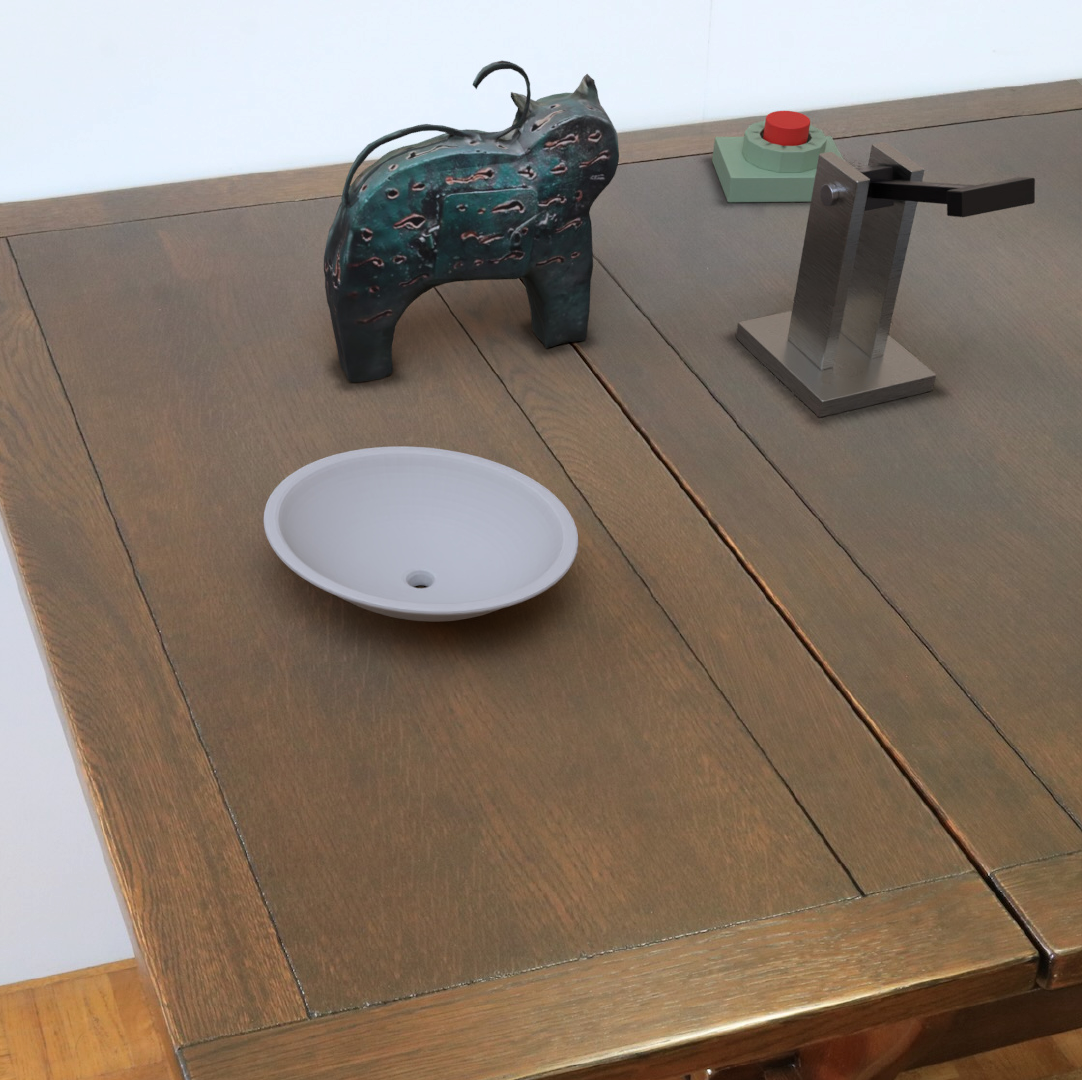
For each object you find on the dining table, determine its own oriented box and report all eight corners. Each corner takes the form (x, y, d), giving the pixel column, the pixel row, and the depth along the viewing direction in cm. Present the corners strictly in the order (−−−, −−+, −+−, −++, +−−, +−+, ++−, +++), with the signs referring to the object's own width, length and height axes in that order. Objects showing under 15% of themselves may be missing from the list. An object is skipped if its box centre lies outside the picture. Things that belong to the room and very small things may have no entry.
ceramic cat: (583, 307, 111) (602, 32, 98) (620, 351, 106) (645, 68, 93) (321, 354, 106) (304, 69, 93) (348, 402, 101) (334, 109, 88)
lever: (1035, 211, 87) (1035, 168, 86) (962, 226, 85) (962, 182, 85) (886, 199, 99) (885, 161, 99) (821, 212, 98) (819, 173, 97)
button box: (827, 160, 131) (835, 115, 128) (848, 201, 125) (857, 155, 122) (711, 161, 130) (717, 115, 128) (727, 202, 124) (733, 156, 122)
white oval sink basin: (223, 633, 84) (214, 563, 80) (331, 489, 94) (327, 421, 90) (526, 714, 79) (530, 643, 76) (605, 554, 89) (611, 485, 86)
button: (802, 130, 127) (805, 110, 125) (811, 148, 124) (814, 128, 123) (759, 130, 126) (762, 110, 125) (767, 149, 124) (770, 128, 123)
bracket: (932, 391, 103) (983, 185, 93) (819, 418, 100) (859, 209, 91) (843, 314, 111) (881, 117, 101) (735, 337, 108) (764, 137, 98)
